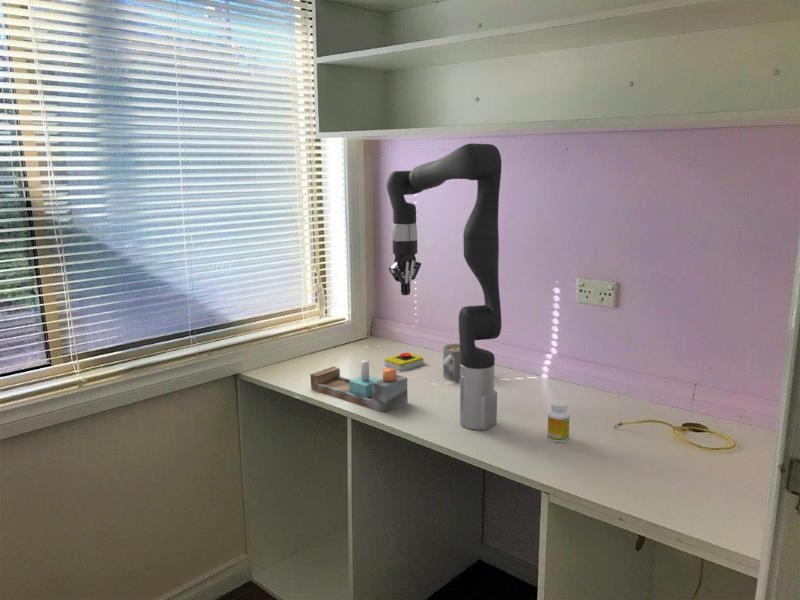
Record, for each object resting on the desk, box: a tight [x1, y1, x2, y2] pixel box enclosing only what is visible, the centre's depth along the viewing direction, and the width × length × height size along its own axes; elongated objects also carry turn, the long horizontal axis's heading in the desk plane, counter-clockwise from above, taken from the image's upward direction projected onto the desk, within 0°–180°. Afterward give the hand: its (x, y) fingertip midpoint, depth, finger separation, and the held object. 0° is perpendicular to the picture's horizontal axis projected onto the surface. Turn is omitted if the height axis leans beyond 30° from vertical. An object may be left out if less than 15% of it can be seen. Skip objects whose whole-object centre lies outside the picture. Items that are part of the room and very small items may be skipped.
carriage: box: [349, 359, 382, 398], centre depth 201 cm, size 7×7×10 cm
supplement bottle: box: [547, 400, 571, 443], centre depth 170 cm, size 5×5×10 cm
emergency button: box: [379, 352, 427, 374], centre depth 233 cm, size 9×4×15 cm
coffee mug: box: [442, 342, 460, 381], centre depth 219 cm, size 13×10×10 cm
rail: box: [309, 366, 409, 414], centre depth 204 cm, size 32×10×8 cm, turn 49°
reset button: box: [382, 368, 398, 382], centre depth 194 cm, size 4×4×3 cm
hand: (405, 294), depth 202 cm, fingers closed
